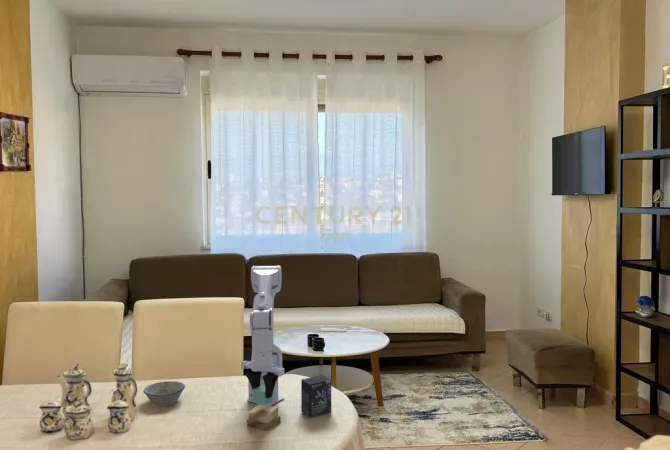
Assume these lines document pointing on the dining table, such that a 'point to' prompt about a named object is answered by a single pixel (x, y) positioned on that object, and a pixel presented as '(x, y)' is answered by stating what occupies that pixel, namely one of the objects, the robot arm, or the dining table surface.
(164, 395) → the bowl
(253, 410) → the slab top
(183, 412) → the dining table surface
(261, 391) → the teal cube
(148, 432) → the dining table surface
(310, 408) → the box
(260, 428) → the slab bottom
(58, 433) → the dining table surface
